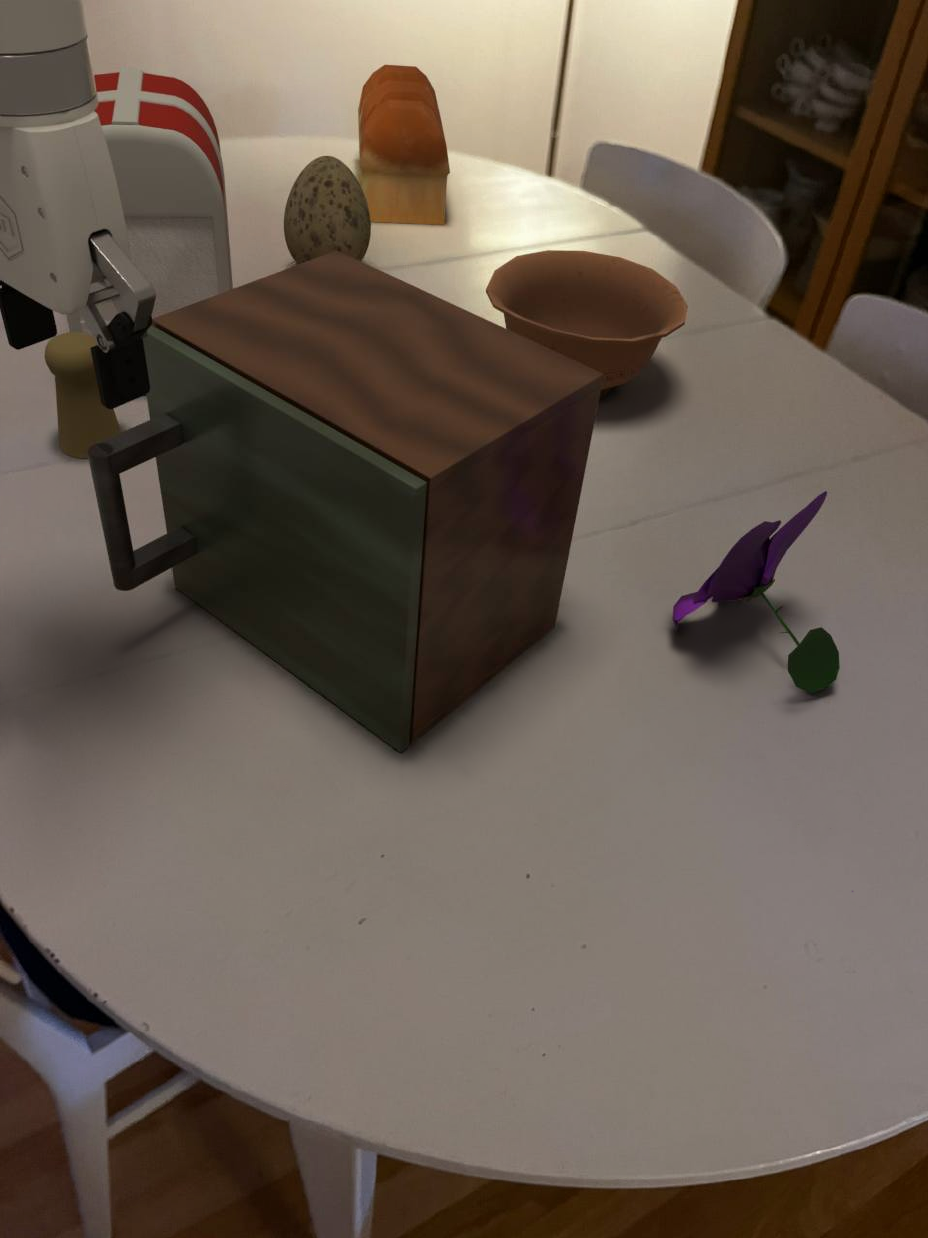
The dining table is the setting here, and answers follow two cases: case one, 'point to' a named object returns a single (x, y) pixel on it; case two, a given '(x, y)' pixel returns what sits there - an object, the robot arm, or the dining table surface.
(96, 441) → the brown rounded tall piece
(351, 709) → the cupboard door
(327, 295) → the cupboard
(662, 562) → the dining table surface
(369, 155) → the bread
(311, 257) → the decorative egg
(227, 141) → the dining table surface
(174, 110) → the white box red top
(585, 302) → the bowl
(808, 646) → the flower
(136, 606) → the dining table surface
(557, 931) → the dining table surface
